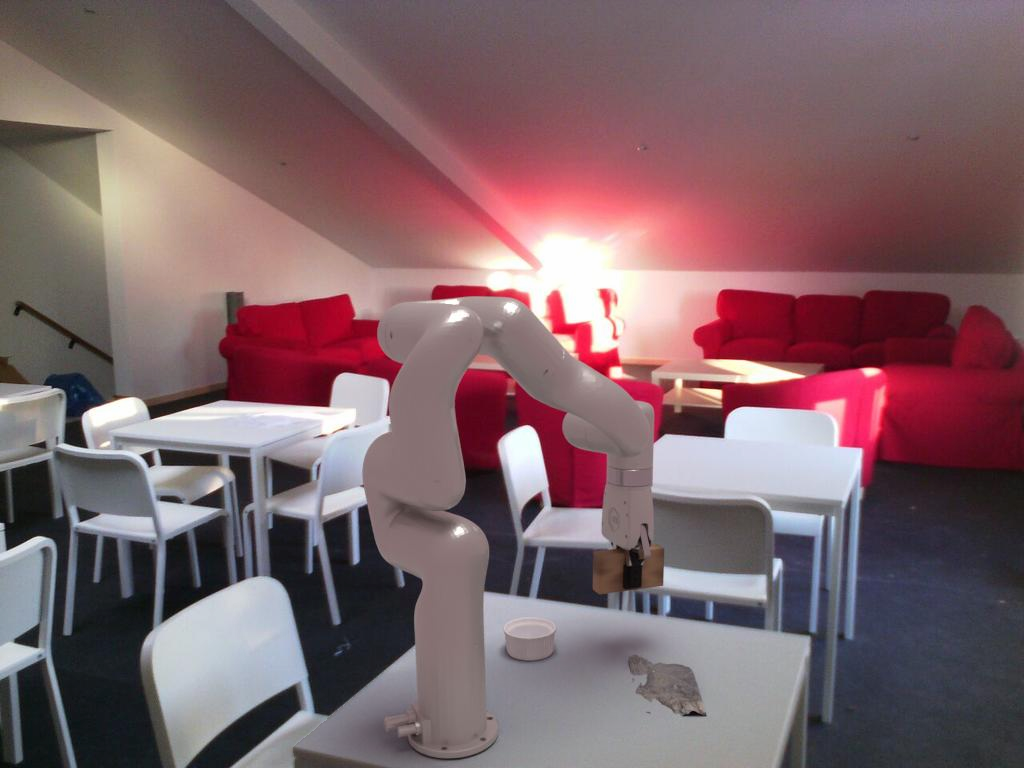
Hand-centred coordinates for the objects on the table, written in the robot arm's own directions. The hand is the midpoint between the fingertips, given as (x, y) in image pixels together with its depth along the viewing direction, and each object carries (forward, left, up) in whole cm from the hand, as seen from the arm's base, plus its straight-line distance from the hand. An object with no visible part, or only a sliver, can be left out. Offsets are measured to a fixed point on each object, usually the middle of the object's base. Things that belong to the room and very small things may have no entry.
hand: (627, 583), depth 146 cm
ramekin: (-15, +6, -12) cm, 20 cm away
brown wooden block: (0, 0, -1) cm, 1 cm away
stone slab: (-1, -14, -12) cm, 18 cm away
